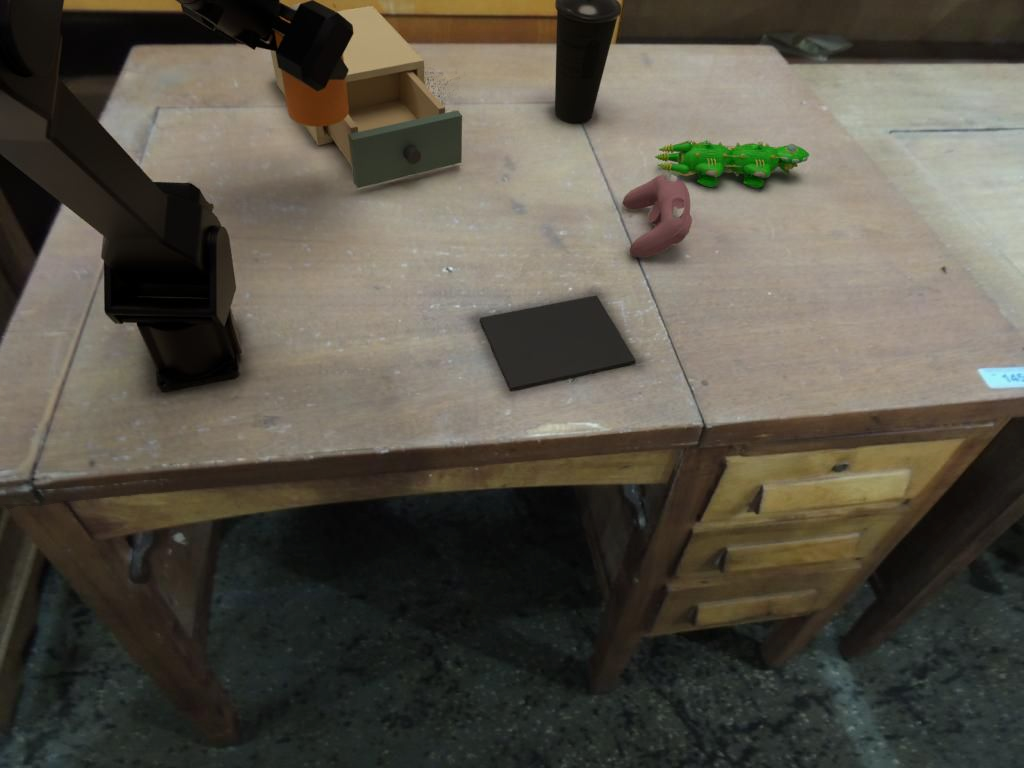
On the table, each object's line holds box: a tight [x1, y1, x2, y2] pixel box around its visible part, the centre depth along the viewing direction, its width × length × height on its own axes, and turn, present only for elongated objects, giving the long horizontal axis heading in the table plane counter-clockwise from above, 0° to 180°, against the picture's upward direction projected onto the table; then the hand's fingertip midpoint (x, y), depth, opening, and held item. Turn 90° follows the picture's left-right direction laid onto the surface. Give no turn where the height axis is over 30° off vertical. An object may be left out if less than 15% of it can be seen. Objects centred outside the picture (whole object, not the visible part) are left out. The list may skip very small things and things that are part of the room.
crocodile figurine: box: [654, 139, 810, 189], centre depth 87 cm, size 7×18×4 cm, turn 93°
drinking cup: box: [554, 0, 623, 125], centre depth 88 cm, size 8×8×20 cm
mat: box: [479, 295, 637, 392], centre depth 68 cm, size 12×9×1 cm
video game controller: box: [622, 172, 693, 258], centre depth 78 cm, size 10×5×7 cm, turn 179°
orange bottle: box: [275, 2, 349, 126], centre depth 71 cm, size 6×6×10 cm
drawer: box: [324, 70, 463, 189], centre depth 84 cm, size 16×13×6 cm
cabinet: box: [270, 5, 426, 146], centre depth 91 cm, size 16×14×8 cm
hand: (324, 62), depth 73 cm, fingers closed on orange bottle, 6 cm apart
